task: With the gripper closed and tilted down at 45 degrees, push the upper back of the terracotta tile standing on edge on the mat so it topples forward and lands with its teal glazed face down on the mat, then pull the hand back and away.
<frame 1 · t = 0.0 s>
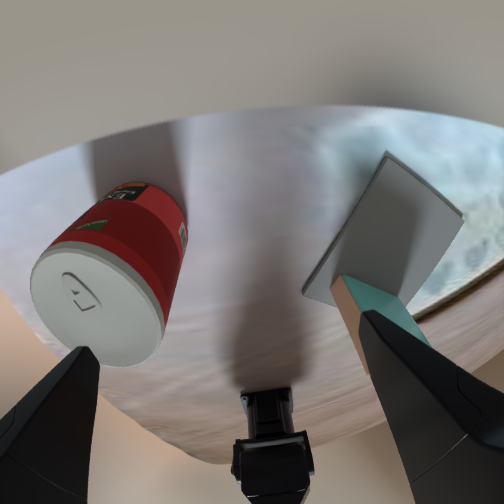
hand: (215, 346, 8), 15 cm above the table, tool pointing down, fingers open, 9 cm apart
tile: (366, 293, 26), resting on mat
canned food: (143, 225, 22), on the table
mat: (391, 253, 25), on the table
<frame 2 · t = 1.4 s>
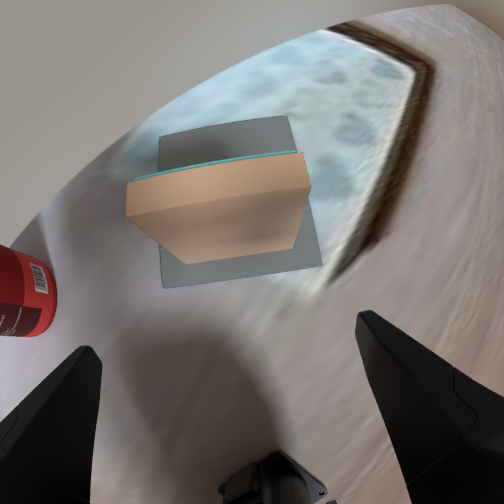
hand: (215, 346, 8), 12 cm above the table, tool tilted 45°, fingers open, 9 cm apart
tile: (236, 243, 21), resting on mat
canned food: (34, 298, 22), on the table
mat: (230, 192, 23), on the table
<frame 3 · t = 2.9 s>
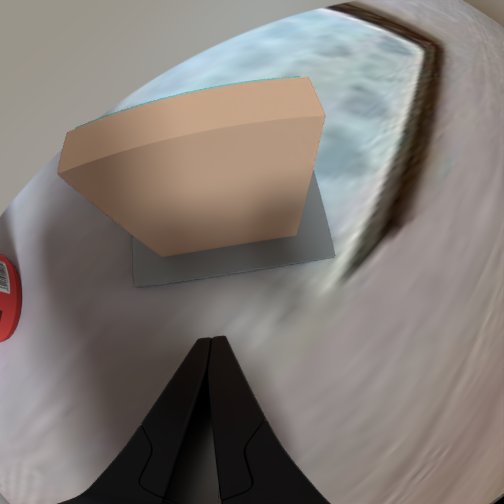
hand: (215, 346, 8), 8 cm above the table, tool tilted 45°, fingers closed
tile: (225, 230, 17), resting on mat
canned food: (1, 299, 17), on the table
mat: (219, 170, 19), on the table
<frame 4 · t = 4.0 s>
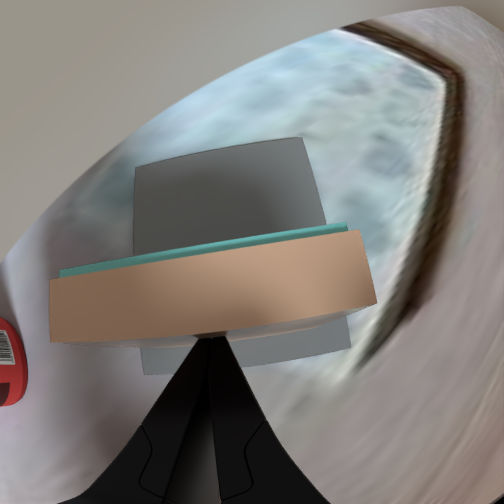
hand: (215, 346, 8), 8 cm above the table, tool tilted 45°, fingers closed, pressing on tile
tile: (237, 322, 16), point 1 cm above the table, touching gripper, mat
canned food: (5, 360, 16), on the table
mat: (228, 248, 17), on the table
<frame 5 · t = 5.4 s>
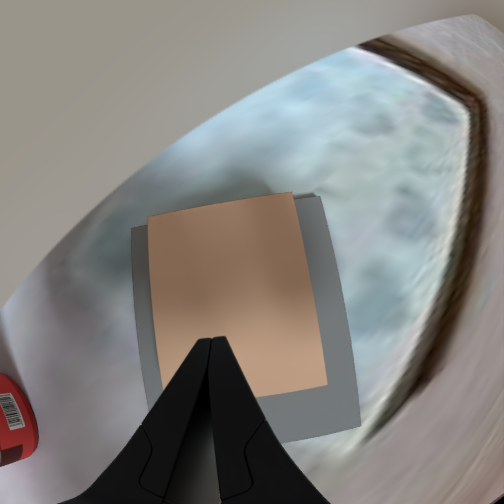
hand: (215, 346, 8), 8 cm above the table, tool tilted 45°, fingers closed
tile: (246, 394, 13), point 1 cm above the table, tilted 90°, touching mat
canned food: (13, 413, 15), on the table
mat: (239, 329, 16), on the table
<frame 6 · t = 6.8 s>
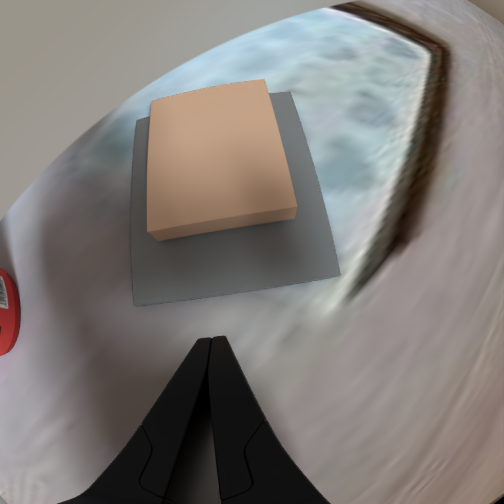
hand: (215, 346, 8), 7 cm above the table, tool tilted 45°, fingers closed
tile: (222, 225, 16), point 1 cm above the table, tilted 90°, touching mat
canned food: (0, 312, 17), on the table
mat: (220, 183, 18), on the table
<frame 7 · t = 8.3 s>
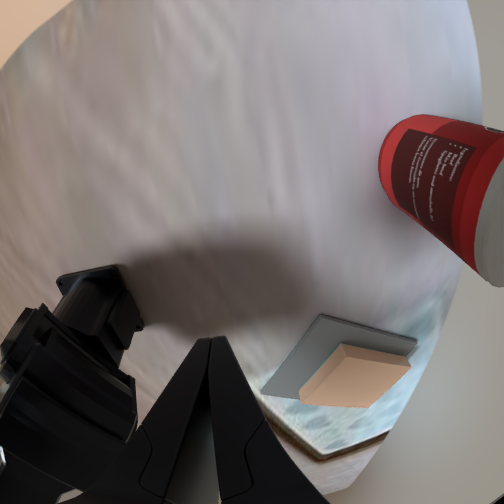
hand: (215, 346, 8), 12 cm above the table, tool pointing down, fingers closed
tile: (320, 374, 26), point 1 cm above the table, tilted 90°, touching mat
canned food: (416, 162, 18), on the table
mat: (342, 368, 28), on the table
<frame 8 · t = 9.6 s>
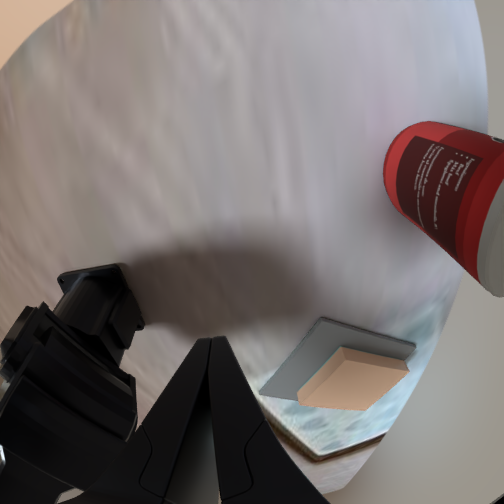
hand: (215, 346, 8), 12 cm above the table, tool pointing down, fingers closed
tile: (318, 377, 26), point 1 cm above the table, tilted 90°, touching mat
canned food: (421, 168, 18), on the table
mat: (340, 370, 28), on the table
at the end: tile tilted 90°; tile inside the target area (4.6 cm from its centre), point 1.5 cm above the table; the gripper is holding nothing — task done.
